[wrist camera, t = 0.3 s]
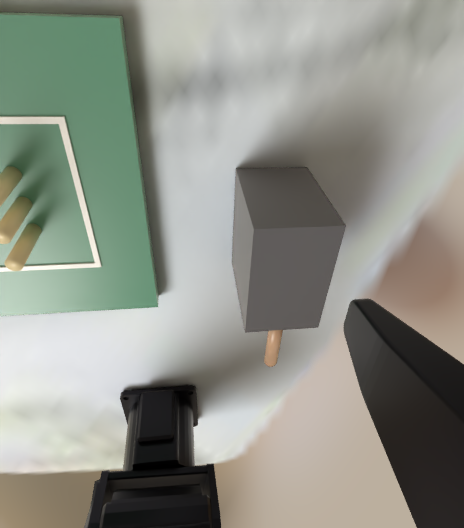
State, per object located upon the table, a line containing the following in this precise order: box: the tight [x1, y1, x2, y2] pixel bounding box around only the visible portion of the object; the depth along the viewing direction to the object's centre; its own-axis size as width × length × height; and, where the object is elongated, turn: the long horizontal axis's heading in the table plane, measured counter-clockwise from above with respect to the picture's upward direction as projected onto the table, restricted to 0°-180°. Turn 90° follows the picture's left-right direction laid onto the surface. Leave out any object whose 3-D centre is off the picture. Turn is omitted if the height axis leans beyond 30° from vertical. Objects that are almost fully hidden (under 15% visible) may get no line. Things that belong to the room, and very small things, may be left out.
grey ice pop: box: [232, 167, 346, 367], centre depth 21 cm, size 11×4×6 cm, turn 178°
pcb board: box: [0, 12, 159, 316], centre depth 18 cm, size 16×12×4 cm
